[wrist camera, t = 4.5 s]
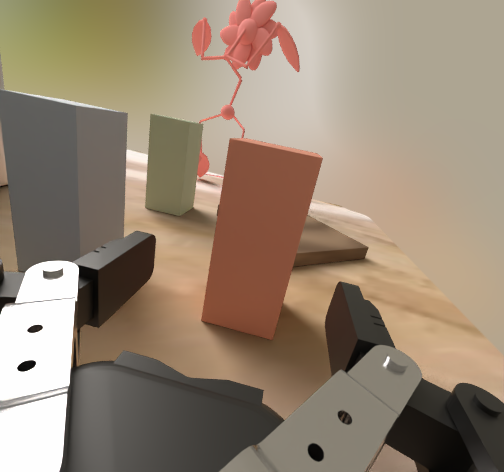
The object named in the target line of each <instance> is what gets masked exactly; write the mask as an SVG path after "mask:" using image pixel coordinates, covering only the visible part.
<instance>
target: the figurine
mask: <svg viewBox="0 0 504 472" xmlns="http://www.w3.org/2000/svg"><path fill="white" fill-rule="evenodd" d="M276 8H277V5H276V3H275V2H274V1H266V0H255V1H254V2H253V3H252V4H251V3H250V0H239V2H238V4H237V8H236V12H234V11H233V12H232V13H231V14H230V17H229V26H228V27H225V28H223V29H222V30H221V32H220V36H221V38H222V40H223V42H224V43H225V44H227V45H229V46H228V47H227V48H226V50H225V53H224V55H223V56H209V57H204V52H205V51H206V50H207V48H208V46H209V45H210V42H211V29H210V26H209V24H208V23H207V19H206V18H203V20H199V21H198V23H197V24H196V25H195V27H194V29H193V32H192V43H193V46H194V49H195V52H196V55H197V56H198V55H200V54H201V57H202V58H201V60H217V59H224V60H227V62H228V63H229V64H230V66H231V67H232V69H233V70H234V72H235V73H236V75H237V76H238V78H239V82H238V84H237V87H236V90H235V92H234V95H233V97H232V100H231V103H230V105H225V106H223V107H222V109H221V114H219V115H216V116H213V117H209V118H206V119H203V120H200V122H199V123H201V122H202V121H206V120H209V119H212V118H215V117H219V116H222V117H223V118H224V119H226V120H230V119H232V118H234V119H235V120H236V121H237V123H238V124H239V125H240V127H241V128H242V129H243V134H242V138H243V137H244V132H245V131H244V130H245V129H244V128H243V127H242V125H241V124H240V123H239V121H238V120H237V118H236V117H235V116H234V109H233V107H232V106H231V105H232V103H233V100H234V98H235V96H236V94H237V91H238V89H239V87H240V84H241V82H242V80H241V78H242V77H241V76H240V74H239V73H238V72H237V70H236V69H239V68H240V67H244V68H246V69H248V66H249V68H250V69H251V70H256V69H257V68H258V66H259V64H260V61H261V57H262V55H265V56H266V55H267V56H268V55H269V54H271V51H272V40H271V39H273V38H275V37H276V36H278V38H279V42H280V46H281V48H282V51H283V53H284V55H285V56H286V58H287V60H288V62H289V63H290V64H291V65H292V66H293V68H294V69H295V70H296V71H297V72H299V68H300V66H299V55H298V52H297V48H296V45H295V43H294V41H293V38H292V37H291V35H290V33H289V32H288V31H287V29H286V28H285V27H284V26H282V25H281V23H280V22H277V23H276V22H275V21H273V20H270V18H271V17H272V15H273V14H274V12H275V10H276ZM230 60H231V61H232V63H231V62H230ZM246 61H248V63H247V65H246V64H245V62H246ZM208 169H209V161H208V158H207V156H206V155H205V154H204V153H202V139H201V147H200V155H199V163H198V171H197V175H198V176H199V177H202V176H203V175H204V174H205V173H206V172H207V171H208ZM205 175H209V174H205ZM211 176H214V175H211ZM216 177H219V176H216ZM220 177H221V176H220ZM221 178H224V177H221ZM221 192H222V191H221Z"/></svg>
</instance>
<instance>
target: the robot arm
mask: <svg viewBox="0 0 504 472" xmlns="http://www.w3.org/2000/svg"><path fill="white" fill-rule="evenodd" d="M0 89H2V90H4V82H3V73H2V64H1V57H0ZM7 184H8V180H7V172H6V163H5V155H4V146H3V138H2V130H1V121H0V186H2V185H7ZM155 245H156V238H155V236H154V235H152V234H148V233H144V232H140V231H135V232H133V233H132V234H130V235H128V236H126V237H125V238H121V239H117V240H113V241H110V242H108V243H106V244H104V245H102V246H101V247H99V248H97V249H95V250H94V251H92V252H90V253H88V254H86V255H84V256H82V257H81V258H79V259H77V260H75V261H73V262H72V263H71V262H66V261H50V262H44V263H40V264H37V265H35V266H33V267H31V268H30V269H28V270H27V272H26V273H20V272H4V271H3V264H2V260H1V259H0V472H369V470H370V469H371V467H372V465H373V464H374V462H375V460H376V459H377V457H378V455H379V453H380V452H381V450H382V448H383V447H384V445H385V443H386V444H387V445H389V446H391V447H392V448H394V449H396V450H397V451H399V452H401V453H402V454H404V455H406V456H407V457H409V458H411V459H412V460H414V461H415V464H416V467H417V470H418V472H504V403H503V402H501V401H500V400H499V399H498V398H496V397H495V396H493V395H492V394H490V393H489V392H487V391H485V390H484V389H482V388H480V387H477V386H475V385H472V384H468V383H459V384H457V385H456V386H455V388H454V389H453V391H452V393H451V392H449V391H446V390H444V389H442V388H440V387H438V386H436V385H434V384H432V383H430V382H428V381H426V380H424V379H423V378H422V373H421V370H420V368H419V367H418V365H417V364H416V363H415V362H414V361H413V360H412V359H411V358H410V357H409V356H407V355H406V354H405V353H403V352H401V351H400V350H397V349H396V348H395V346H394V343H393V341H392V339H391V337H390V335H389V333H388V330H387V328H386V327H385V324H384V322H383V320H382V317H381V315H380V313H379V311H378V309H377V308H376V307H375V306H374V305H373V304H372V303H371V302H370V301H368V300H364V298H363V296H362V293H361V291H360V288H359V286H356V285H352V284H348V283H344V282H339V283H338V284H337V286H336V289H335V292H334V295H333V297H332V300H331V303H330V306H329V309H328V312H327V315H326V320H325V330H326V338H327V345H328V352H329V359H330V366H331V373H332V377H331V378H330V379H329V380H328V381H327V382H326V383H325V384H324V385H323V386H321V387H320V388H319V389H318V390H317V391H316V392H315V393H314V394H313V395H312V396H311V397H310V398H308V399H307V400H306V401H305V402H304V403H303V404H302V405H301V406H300V407H299V408H298V409H297V410H295V411H294V412H293V413H292V414H291V415H290V416H289V417H288V418H287V419H286V420H284V419H283V418H282V417H281V416H279V415H278V414H277V413H276V412H275V411H273V410H272V409H271V408H269V407H268V406H266V405H265V404H263V403H262V398H263V391H264V390H261V389H258V388H254V387H251V386H247V385H244V384H240V383H237V382H233V381H230V380H218V379H200V378H189V377H186V376H184V375H183V374H181V373H179V372H177V371H176V370H174V369H172V368H171V367H169V366H167V365H165V364H164V363H162V362H160V361H158V360H156V359H153V358H149V357H146V356H142V355H139V354H135V353H132V352H128V351H125V350H124V351H123V352H122V353H121V354H120V356H119V357H118V358H117V359H116V360H115V361H99V362H92V363H88V364H83V365H80V343H81V327H82V326H83V325H85V324H87V325H90V326H94V327H97V328H99V327H100V326H101V325H102V324H103V323H104V322H105V321H106V320H107V319H109V318H110V317H111V316H112V315H113V314H114V313H115V312H116V311H117V310H118V309H119V308H120V307H121V306H122V305H123V304H124V303H125V302H126V301H127V300H128V299H130V298H131V297H132V296H133V295H134V294H135V293H136V292H137V291H138V290H139V289H140V288H141V287H142V286H143V285H144V284H145V283H146V282H147V281H148V280H149V279H150V277H151V275H152V273H153V269H154V258H155Z"/></svg>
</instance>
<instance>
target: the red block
mask: <svg viewBox="0 0 504 472" xmlns="http://www.w3.org/2000/svg"><path fill="white" fill-rule="evenodd" d="M322 159H323V158H322V157H321V156H320V155H318V154H317V153H313V152H308V151H303V150H298V149H294V148H289V147H284V146H280V145H275V144H270V143H266V142H261V141H256V140H251V139H247V138H246V139H245V138H241V139H240V138H230V140H229V147H228V154H227V160H226V166H225V173H224V179H223V185H222V192H221V198H220V204H219V211H218V217H217V223H216V230H215V236H214V243H213V249H212V255H211V262H210V268H209V275H208V281H207V287H206V294H205V300H204V306H203V313H202V319H201V321H204V322H208V323H211V324H215V325H219V326H222V327H226V328H230V329H233V330H237V331H241V332H244V333H248V334H252V335H255V336H259V337H263V338H266V339H270V340H273V337H274V333H275V329H276V326H277V322H278V318H279V315H280V311H281V308H282V304H283V300H284V297H285V293H286V290H287V286H288V282H289V279H290V275H291V271H292V268H293V264H294V261H295V257H296V253H297V250H298V246H299V243H300V239H301V235H302V232H303V228H304V224H305V221H306V217H307V214H308V210H309V206H310V203H311V199H312V195H313V192H314V188H315V185H316V181H317V178H318V174H319V170H320V167H321V163H322Z"/></svg>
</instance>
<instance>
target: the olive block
mask: <svg viewBox="0 0 504 472" xmlns="http://www.w3.org/2000/svg"><path fill="white" fill-rule="evenodd" d="M202 130H203V124H201V123H196V122H191V121H186V120H182V119H177V118H172V117H166V116H160V115H155V114H151V116H150V134H149V151H148V168H147V185H146V202H145V208H148V209H152V210H156V211H160V212H164V213H168V214H173V215H177V216H181V215H183V214H184V213H186V212H187V211H189V210H190V209H192V208H193V204H194V196H195V188H196V180H197V171H198V163H199V155H200V147H201V139H202Z"/></svg>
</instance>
